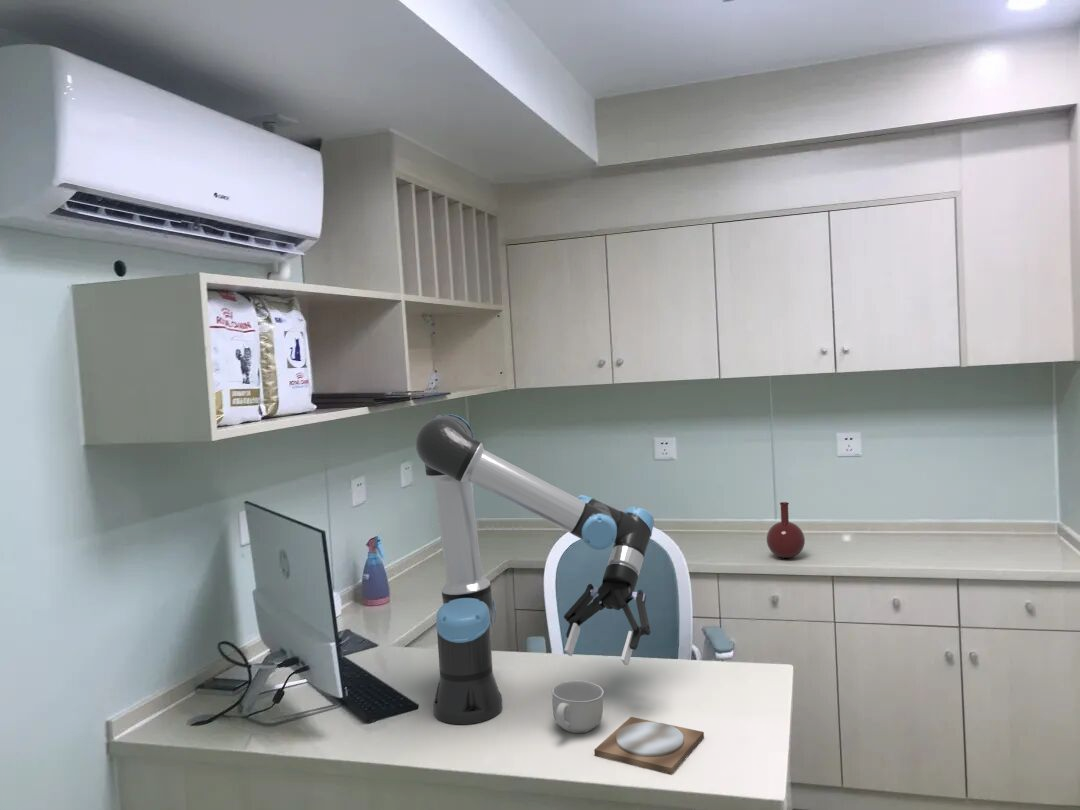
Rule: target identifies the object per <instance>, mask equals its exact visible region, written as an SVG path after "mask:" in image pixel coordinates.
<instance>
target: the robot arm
mask: <svg viewBox="0 0 1080 810" xmlns="http://www.w3.org/2000/svg"><path fill="white" fill-rule="evenodd" d="M415 439H416V440H415V449H416V452H417V455H418V457H419V459H420V460H421V461H422V463H424V469H425V476H426V477H427V478H428V479H429V480H430V481H432V482H433V489H434V495H435V501H436V510H437V517H438V524H439V532H440V541H441V547H442V555H443V556H442V557H443V561H444V562H443V565H444V570H445V577H446V582H445V583H444V585H443V586H442V588H441V590H440V591H441V598H442V605H441V606H440V607H439V608H438V609H437V612H436V618H435V619H436V620H435V628H436V632H437V648H438V649H437V650H438V651H437V652H438V664H439V665H438V666H439V680H438V684H437V688H436V692H435V696H434V700H433V714H434V717H435V718H436V719H437V720H439V721H441V722H444V723H446V724H454V725H470V724H478V723H482V722H485V721H487V720H490V719H493V718H495V717H496V716H498V715H499V714H500V713H501V712H502V710H503V697H502V693H501V692H500V691H499V686H498V683H497V681H496V679H495V676H494V672H493V655H492V634H493V629H494V624H495V622H496V617H497V607H496V603H495V600H494V599H493V594H492V587H491V581H490V580H489V579H488V578H486V577H485V576H484V575H483V567H482V559H481V552H480V544H479V536H478V535H479V534H478V529H477V521H476V520H477V519H476V512H475V506H474V498H473V491H472V488H473V487H472V484H474V485H476V486H478V487H480V488H482V489H484V490H486V491H488V492H489V493H492V494H494V495H496V496H497V497H500V498H502V499H503V500H506V501H507V502H509V503H511V504H513V505H515V506H517V507H520V508H521V509H523V510H525V511H527V512H529V513H531V514H533V515H535V516H536V517H538V518H541V519H542V520H544V521H546V522H548V523H550V524H551V525H553V526H556V527H558V528H560V529H561V530H564V531H566V532H568V533H569V534H571V535H572V536H575V537H577V538H578V539H581V540H583V542H584V543H585V545H587V546H588V547H590V548H591V549H593V550H597V551H599V550H600V551H601V550H605V549H609V548H610V547H611V546H612V545H613V547H612V550H611V553H610V556H609V558H608V561H607V566H606V567H605V571H604V575H603V577H602V583H601V585H600V586H599V587H597V586H594V585H593V584H592V583H589V584H588V585H587V586H586V588H585V591H584V592H583V593H582V594H581V596H580V597H579V598H578V599H577V600H576V601H575V603H573V605H572V606H571V607H570V608H569V609H568V611H566V612H565V614H564V616H563V618H564V620H565V621H566V622H567V624H568V628H567V631H566V634H565V637H566V638H567V640H566V643H565V647H564V649H563V650H564V652H565V653H566V654H567V655H568V656H569V657H572V656H573V654H574V652H575V648H576V646H577V642H578V639H579V636H580V632H581V627H580V626H581V625H582V624H583V623H585V622H586V621H588V620H589V619H590V618H591V617H593V616H594V615H595V614H596V613H598V612H599V611H602V610H604V609H607V610H616V611H620V610H622V611H623V613H624V614H625V617H626V619H627V621H628V623H629V624H630V627H631V629H632V630H628V633H627V636H626V640H625V644H624V646H623V649H622V653H621V657H620V660H621V662H622V663H623V664H624V665H625V666H629V664H630V661H631V657H632V653H633V650H635V651H636V650H637V649H638V646H639V643H640V639H641V637H642V636H644V635H645V636H649V635H651V627H650V624H649V617H648V614H647V609H646V601H647V596H646V594H645V593H644V592H643V589H638V590H637V591H635V589H636V586H637V583H638V580H639V575H640V573H641V569H642V566H643V563H644V559H645V555H646V552H647V549H648V546H649V543H650V539H651V537H652V535H653V534H652V533H653V530H654V529H653V528H654V525H655V524H654V523H655V519H654V516H653V515H652V513H651V512H650V511H648V510H647V509H645V508H642V507H637V506H630V507H628V508H626V509H625V510H624V511H622V510H619V509H616V508H614V507H613V506H610V505H608V504H606V503H603V502H601V501H599V500H597V499H595V498H594V497H589V496H587V495H584V494H580V495H579V496H574V495H572V494H570V493H568V492H567V491H565V490H562V489H561V488H559V487H557V486H555V485H553V484H551V483H548V482H547V481H545V480H543V479H541V478H539V477H537V476H536V475H534V474H532V473H529V472H528V471H526V470H524V469H522V468H520V467H518V466H517V465H514V464H512V463H510V462H508V461H507V460H504V459H503V458H501V457H499V456H497V455H495V454H493V453H491V452H489V451H487V449H486V450H485V449H484V448H485V447H484V445H483V443H482V442H480V441H479V440H476V439H475V435H474V431H473V430H472V427H471V426H470V424H469V423H468V422H467V421H466V420H465V419H464V418H462V417H461V416H458V415H455V414H451V413H450V414H449V413H448V414H447V413H446V414H445V413H444V414H438V415H437V416H435V417H433V418H432V419H430V420H428V421H427V422H425V423H424V424H423V425H422V426H421V427H420V429H419V430H418V432H417V436H416V438H415ZM633 599H634V601H635V602H636V607H637V612H638V617H639V623H640V626H639V625H638V622H637V620H636V618H635V617H634V613H633V612H632V610H631V608H630V606H629V603H630V602H631V601H633Z"/></svg>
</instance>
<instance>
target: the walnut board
mask: <svg viewBox="0 0 1080 810" xmlns="http://www.w3.org/2000/svg"><path fill="white" fill-rule="evenodd" d="M704 739H705V733H704V731H700V730H696V729H692V728H687V727H681V726H677V725H674V724H668V723H665V722H659V721H654V720H649V719H645V718H644V719H643V718H640V717H639V718H638V717H634V716H630V717H629V718H628V719H627V720H626V721H624V722H623V723H622V724H621V725H620V726H619V727H618V728H617V729H615V730H614V731H613V732H612V733H611V734H610V735H609V736H608V737H607V738H606V739H604V740H603V741H602V742H601V743H600V744H599V745H598V746H597V747H595V748H594V750H593V752H594V756H595V757H600V758H603V759H607V760H612V761H616V762H620V763H624V764H628V765H632V766H636V767H639V768H644V769H647V770H653V771H656V772H660V773H664V774H669V775H673V774H674V773H675V771H676V770H677V769H678V768H679V767H680V766H681V764H682V763H683V762H684V761H685V760H686V759H687V758H688V757H689V755H690V754H691V753H692V752H693V751H694V750H695V749H696V747H698V745H699V744H700V743H701V742H702V741H703V740H704ZM701 740H702V741H701ZM700 741H701V742H700ZM699 742H700V743H699ZM694 748H695V749H694ZM693 749H694V750H693ZM692 750H693V751H692ZM687 756H688V757H687ZM686 757H687V758H686ZM685 758H686V759H685Z"/></svg>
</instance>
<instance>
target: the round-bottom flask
mask: <svg viewBox="0 0 1080 810" xmlns="http://www.w3.org/2000/svg"><path fill="white" fill-rule="evenodd" d="M779 505H780V521H779V522H776V523H775V524H773V525H772V526H771V527H770V528H769V530H768V531H767V534H766V544H767V545H766V546H767V547H768V549H769V550H770V552H771V553H772V554H773V555H774V556H776V557H777V558H780V557H782V558H781V559H784V558H789V559H793V558H796V557H797V556H799V555H800V554H801V553H802V552H803V550H804V547H805V545H806V544H805V543H806V542H805V541H806V537H805V534H804V531H803V530H802V529H801V528H800V526H798V525H797V524H796V523H793V522H791V521H790V520H789V502H786V501H784V502H779ZM792 557H793V558H792Z"/></svg>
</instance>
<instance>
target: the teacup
mask: <svg viewBox="0 0 1080 810" xmlns="http://www.w3.org/2000/svg"><path fill="white" fill-rule="evenodd" d="M604 695H605V691H604V689H603V688H602V686H600V685H599V684H597V683H595V682H591V681H587V680H581V679H579V680H578V679H577V680H568V681H566V680H565V681H562V682H559V683H557V684H555V685H553V686H552V688H551V697H552V701H551V702H552V703H551V705H552V717H553V720H554V722H555V723H556V724H557V725H559V727H561V729H563V730H564V731H566V732H569V733H573V734H582V733H588V732H590V731H592V730H593V729H594V728H595V727H597V726H598V725H599V724H600V722H601V721H602V718H603V710H604Z"/></svg>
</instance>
